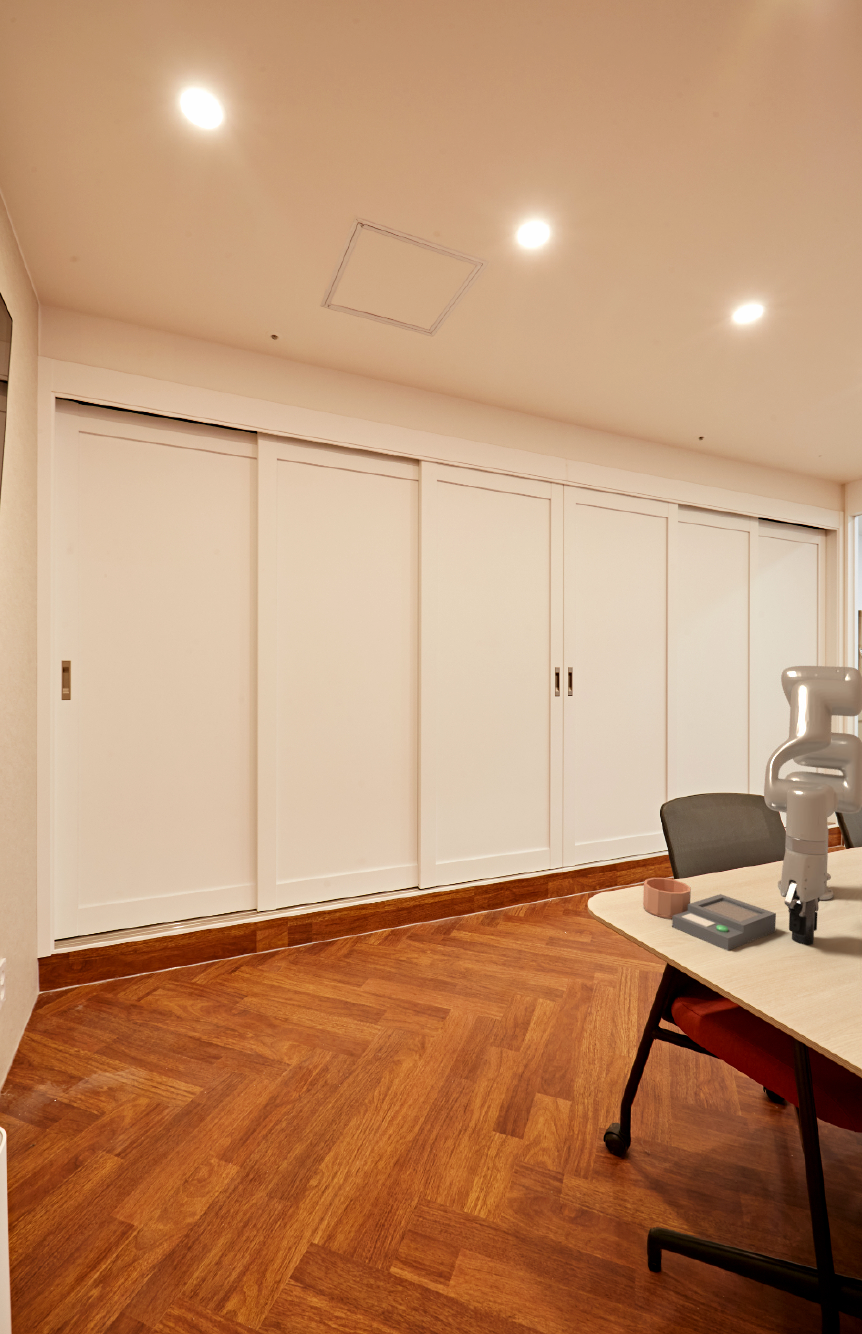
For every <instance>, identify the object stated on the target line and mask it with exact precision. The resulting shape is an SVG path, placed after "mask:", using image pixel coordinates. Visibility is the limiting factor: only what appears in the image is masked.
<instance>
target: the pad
mask: <svg viewBox="0 0 862 1334" xmlns="http://www.w3.org/2000/svg"><path fill="white" fill-rule="evenodd" d="M703 908H706V909H709V910H711V911H714V912H717V913H719V914H722V915H725V916H727V917H730V918H733V919H735V920H738V921H743V920H746V919H749V918H751V917H754V916H757V915H759V914H760V913H758V912H755V911H752V910H749V909H746V908H744V907H741V906H738V905H735V904H732V903H729V902H727V901H724V900H723V901H720V902H717V903H714V904H711V905H707V906H704V907H703Z"/></svg>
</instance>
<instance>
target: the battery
mask: <svg viewBox="0 0 862 1334" xmlns="http://www.w3.org/2000/svg"><path fill="white" fill-rule="evenodd" d="M795 898H796V899H800V897H797V896H796V897H795ZM795 904H797V905H798V906H799V908H800V903H796V902H795ZM815 912H816V911H815V899H814V900H811V901H808V902H806V907H805V915H804V916H806V935H804V936H803V935H800V934H797V933H794V932H792V931H791V940H792V941H793V942H795V943H797V944H801V945H806V946H811V945H814V938H815V935H814V934H815V931H814V915H815Z"/></svg>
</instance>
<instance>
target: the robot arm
mask: <svg viewBox="0 0 862 1334" xmlns="http://www.w3.org/2000/svg"><path fill="white" fill-rule="evenodd" d="M780 679H781V681H780V682H781V686H782V691H783V693H784V696H785V698H786V700H787V702H788V704H789V708H790V709H789V710H790V711H789V712H790V713H789V727H788V728H789V730H788V738H787V739H786V740H785V741H784V742H783V743H781V744H779V746H778V747H777V748H776V749H775V750H774V751H773V752H772V753H771V755H770V757H769V759H768V760H767V763H766V767H765V771H764V772H765V775H764V777H765V778H764V786H763V798H764V803H765V804H766V807H768V809H769V810H772V811H775V812H780V813H786V820H785V822H786V823H785V847H784V848H785V852H784V857H783V864H782V867H781V868H782V869H781V879H780V880H778V882H777V888H779V889H780V895H781V897H783V898H785V899H784V905H785V906H787V908H788V910H787V911H788V914H789V915H788V918H789V919H788V929H789V932H791V933H792V932H794V933H797V934H800V935H803V936H804V935H806V916H804V915H805V907H806V902H808V901H811V900H814V899H815V915H814V932H816V931H817V930H818V912H819V908H820V907H819V902H820V901H821V900H824V901H827V900H830V899H833V897H834V891H833V890H832V889H831V888H829V887H828V886H827V885H828V884H827V883H828V881H829V880H831V879H832V876H831V874H830V873H828V861H829V860H828V857H829V855H828V854H829V827H828V818H829V817H831V816H832V815H834V813H835V812H836V813H842V814H857V813H859V812H860V811H861V810H862V739H860V737H858V736H857V735H855V734H853V733H844V732H843V733H841V732H832V716H835V717H836V716H840V717H856V716H859V715H860V714H861V712H862V674H861V672H860V670H858V668H855V667H851V666H850V667H849V666H825V665H824V666H822V665H795V666H789V667H787V668H785V669H783V671H782V672H781V677H780ZM791 760H793V762H794V763H796V764H797V765H798V766H799V765H800V766H803V767H808V768H818V769H826V770H827V769H828V770H836V771H840V772H841V773H842V774H841V775H840V774H832V773H831V774H830V773H823V772H814V771H801V770H799V771H792V772H790V773H789V774H787V775H786V776H785V778H779V774H780V770H781V768H782V766H783V765H784V764H786V763H787V762H788V761H791ZM796 896H797V897H800V899H796V898H795V897H796ZM795 902H796V903H800V908H799V906H798V905H797V904H795Z"/></svg>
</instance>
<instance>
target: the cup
mask: <svg viewBox="0 0 862 1334" xmlns="http://www.w3.org/2000/svg"><path fill="white" fill-rule="evenodd" d="M691 891H692V888H691V887H690V886H689V885H688V884H687V883H684V882H682V881H679V880H677V879H670V878H665V877H650V878H647V879H645V880H644V883H643V898H642V899H643V901H642V904H643V909H644V911H645V912H647V913H649V914H650V915H652V916H655V917H657V918H662V919H666V920H672V919H673V915H676V914H680V913H683V912H686V911H688V904H690V903H691V897H692V896H691V895H692V893H691Z"/></svg>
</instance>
